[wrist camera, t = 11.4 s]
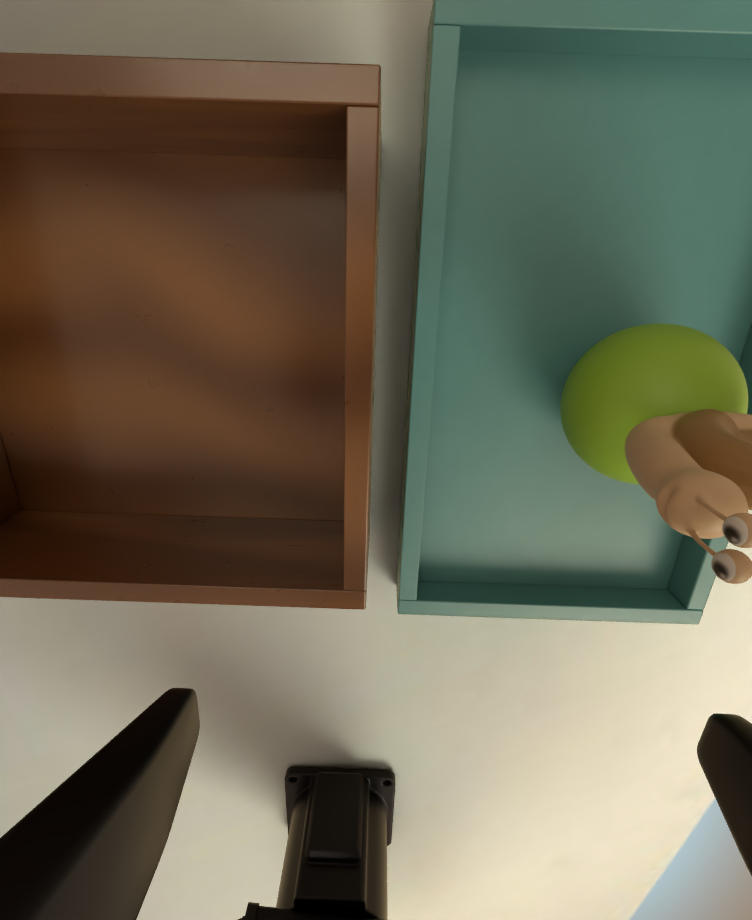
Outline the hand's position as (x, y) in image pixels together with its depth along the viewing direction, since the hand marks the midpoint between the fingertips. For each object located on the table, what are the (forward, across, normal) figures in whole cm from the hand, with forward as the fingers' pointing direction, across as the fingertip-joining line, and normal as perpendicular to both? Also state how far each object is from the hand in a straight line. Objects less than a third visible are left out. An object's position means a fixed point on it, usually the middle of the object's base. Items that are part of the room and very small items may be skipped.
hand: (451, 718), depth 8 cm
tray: (+13, -6, -4) cm, 15 cm away
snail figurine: (+12, -7, -4) cm, 15 cm away
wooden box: (+13, +10, -4) cm, 17 cm away
